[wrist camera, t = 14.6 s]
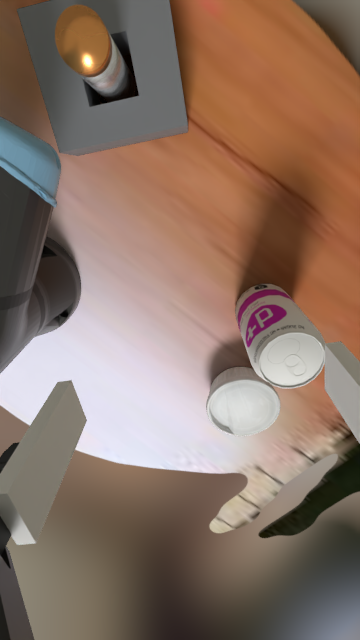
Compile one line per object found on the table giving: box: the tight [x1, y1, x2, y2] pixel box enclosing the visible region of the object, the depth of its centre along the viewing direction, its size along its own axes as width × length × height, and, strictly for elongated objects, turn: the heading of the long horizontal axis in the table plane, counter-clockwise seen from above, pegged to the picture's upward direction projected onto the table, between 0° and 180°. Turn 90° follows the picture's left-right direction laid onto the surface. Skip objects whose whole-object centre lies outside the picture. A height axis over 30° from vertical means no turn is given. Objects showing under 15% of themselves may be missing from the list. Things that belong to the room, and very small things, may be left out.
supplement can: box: [235, 284, 325, 388], centre depth 41 cm, size 8×8×15 cm
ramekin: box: [206, 367, 280, 436], centre depth 52 cm, size 11×11×5 cm
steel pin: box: [55, 5, 136, 103], centre depth 31 cm, size 4×4×14 cm
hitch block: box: [17, 0, 188, 156], centre depth 34 cm, size 14×12×6 cm
